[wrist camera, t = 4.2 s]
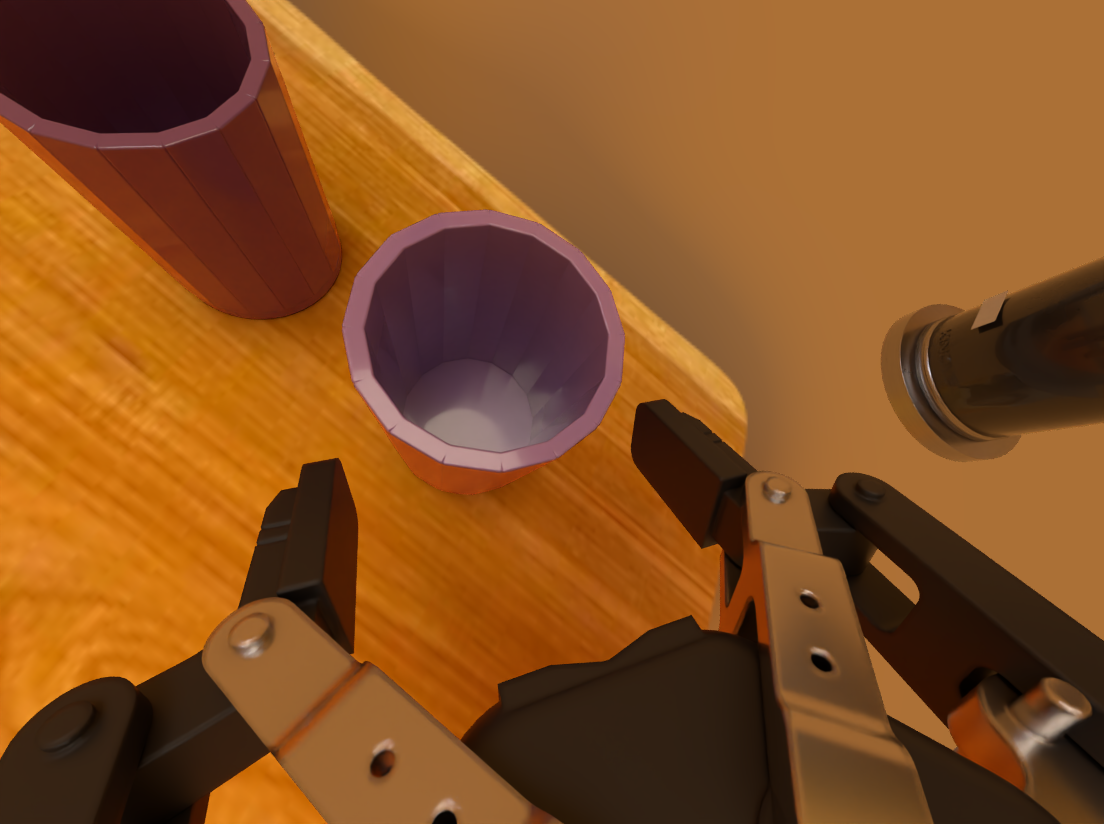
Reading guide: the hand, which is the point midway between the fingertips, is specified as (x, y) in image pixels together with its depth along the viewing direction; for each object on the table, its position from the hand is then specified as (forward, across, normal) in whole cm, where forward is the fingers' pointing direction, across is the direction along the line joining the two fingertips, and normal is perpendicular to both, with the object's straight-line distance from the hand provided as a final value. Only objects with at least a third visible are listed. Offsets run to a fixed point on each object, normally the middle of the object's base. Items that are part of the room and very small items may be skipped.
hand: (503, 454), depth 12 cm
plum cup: (+14, +7, -3) cm, 16 cm away
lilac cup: (+7, 0, +4) cm, 8 cm away
